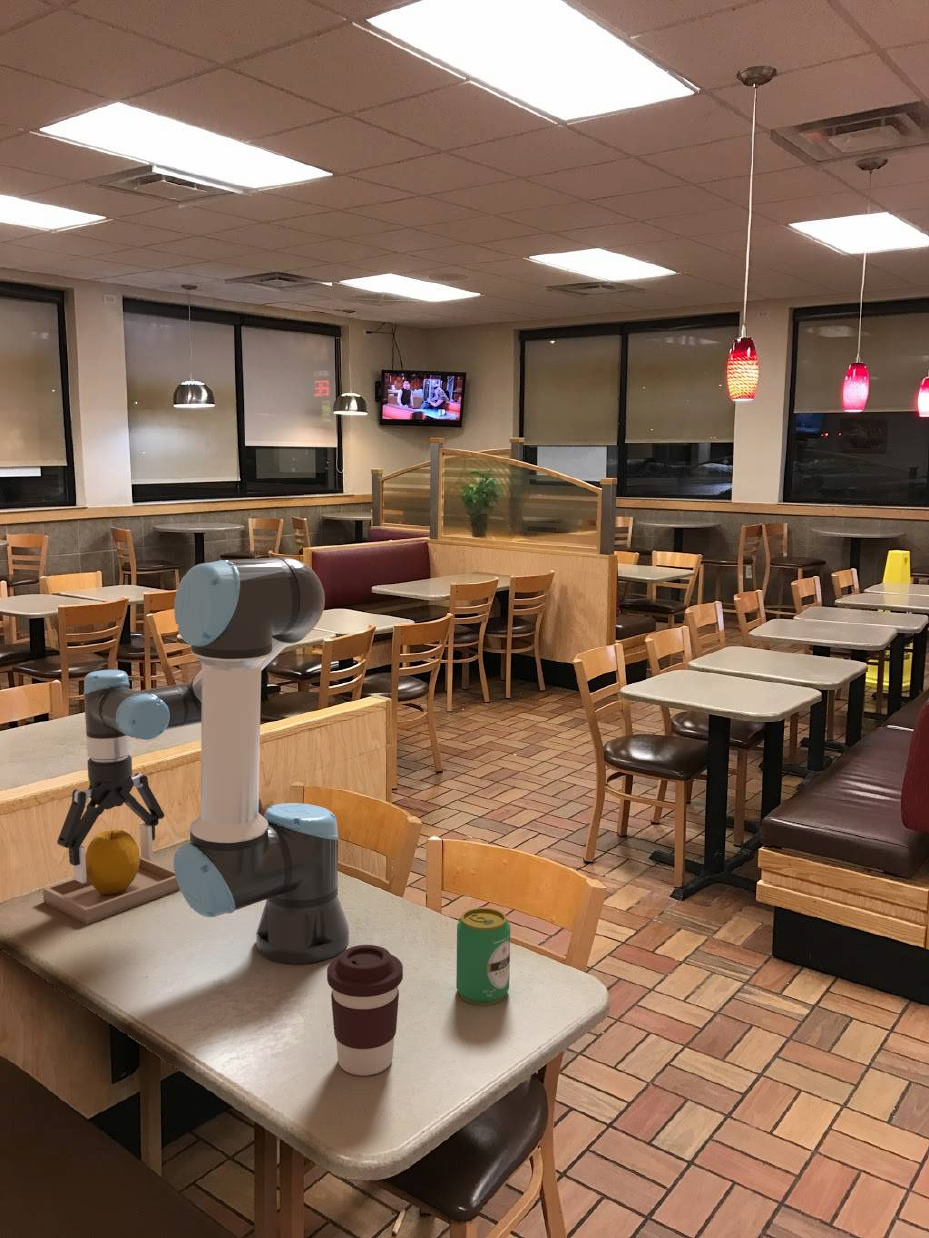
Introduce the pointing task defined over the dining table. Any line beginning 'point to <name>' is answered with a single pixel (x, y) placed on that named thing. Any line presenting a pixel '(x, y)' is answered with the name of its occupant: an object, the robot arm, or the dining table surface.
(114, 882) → the apple
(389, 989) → the coffee cup
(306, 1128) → the dining table surface
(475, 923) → the beverage can
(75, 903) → the tray
